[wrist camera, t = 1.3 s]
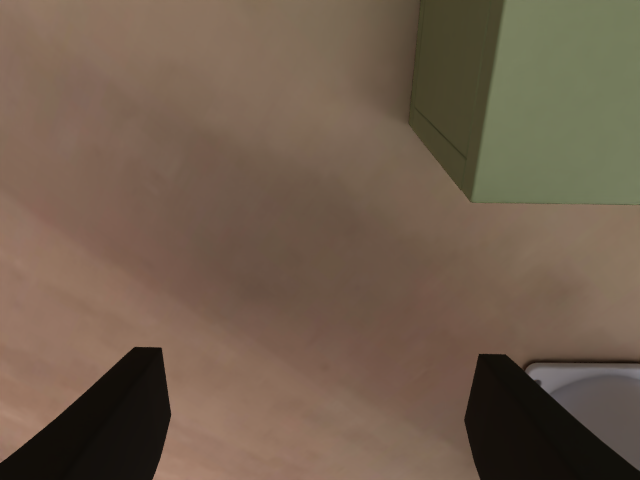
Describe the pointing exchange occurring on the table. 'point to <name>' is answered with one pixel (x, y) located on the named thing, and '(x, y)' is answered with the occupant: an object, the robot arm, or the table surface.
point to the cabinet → (531, 98)
